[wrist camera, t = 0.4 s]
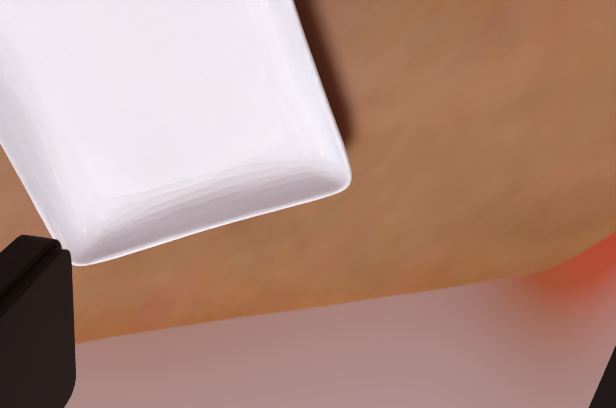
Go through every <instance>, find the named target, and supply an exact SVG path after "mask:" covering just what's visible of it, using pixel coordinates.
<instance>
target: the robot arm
mask: <svg viewBox="0 0 616 408" xmlns="http://www.w3.org/2000/svg"><path fill="white" fill-rule="evenodd" d="M75 365H76V364H75V337H74V311H73V285H72V259H71V253H70V251H69V250H67V249H62V246H61V243H60V241H58V240H57V239H51V238H44V237H37V236H30V235H21V236H19V237H17V238H16V239H15V240H14V241H13V242H12V243H11V244H9V245H8V246H7V247H6V248H5V249H4V250H3V251H2V252H0V408H64V407H65V405H66V404H67V402H68V400H69V399H70V397H71V395H72V392H73V389H74V385H75V380H76V366H75ZM589 408H616V346H615V348H614V351H613V353H612V356H611V358H610V360H609V362H608V365H607V367H606V369H605V372H604V374H603V376H602V379H601V381H600V383H599V385H598V388H597V390H596V392H595V395H594V397H593V399H592V402H591V404H590V406H589Z"/></svg>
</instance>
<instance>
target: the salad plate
mask: <svg viewBox="0 0 616 408" xmlns="http://www.w3.org/2000/svg"><path fill="white" fill-rule="evenodd" d="M0 144H1V146H2V148H3V149H4V151H5V153H6V154H7V156H8V158H9V160H10V162H11V163H12V165H13V167H14V169H15V170H16V172H17V174H18V176H19V177H20V179H21V181H22V183H23V185H24V187H25V189H26V190H27V192H28V194H29V196H30V198H31V200H32V201H33V203H34V205H35V207H36V209H37V211H38V213H39V214H40V216H41V218H42V220H43V221H44V223H45V225H46V227H47V229H48V231H49V232H50V234H51V236H52V237H53V239H57V240H58V241H60V243H61V246H62V249H67V250H69V251H70V253H71V259H72V265H75V266H85V265H91V264H95V263H100V262H104V261H107V260H111V259H115V258H118V257H121V256H124V255H128V254H131V253H134V252H137V251H141V250H144V249H147V248H150V247H153V246H157V245H160V244H163V243H166V242H169V241H172V240H175V239H179V238H182V237H185V236H188V235H191V234H195V233H198V232H201V231H205V230H208V229H211V228H215V227H218V226H221V225H225V224H229V223H232V222H236V221H240V220H244V219H247V218H250V217H254V216H258V215H261V214H265V213H269V212H273V211H277V210H280V209H284V208H288V207H292V206H295V205H299V204H303V203H307V202H311V201H314V200H318V199H321V198H324V197H327V196H331V195H334V194H336V193H339V192H341V191H343V190H344V189H346V188H347V187H348V186H349V184H350V182H351V179H352V173H351V167H350V163H349V158H348V155H347V152H346V149H345V146H344V143H343V140H342V137H341V134H340V132H339V129H338V127H337V124H336V121H335V118H334V115H333V113H332V110H331V107H330V104H329V102H328V99H327V96H326V93H325V91H324V88H323V85H322V82H321V79H320V76H319V74H318V71H317V68H316V65H315V62H314V59H313V56H312V54H311V51H310V48H309V45H308V42H307V39H306V37H305V34H304V31H303V28H302V25H301V21H300V18H299V15H298V12H297V9H296V6H295V3H294V0H0Z"/></svg>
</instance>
